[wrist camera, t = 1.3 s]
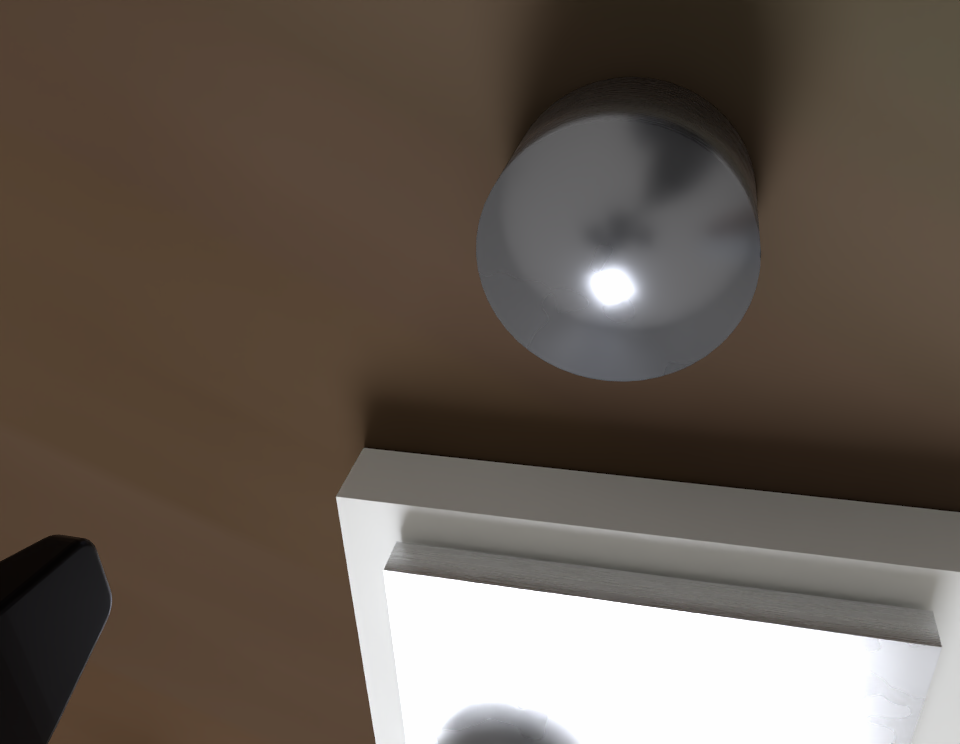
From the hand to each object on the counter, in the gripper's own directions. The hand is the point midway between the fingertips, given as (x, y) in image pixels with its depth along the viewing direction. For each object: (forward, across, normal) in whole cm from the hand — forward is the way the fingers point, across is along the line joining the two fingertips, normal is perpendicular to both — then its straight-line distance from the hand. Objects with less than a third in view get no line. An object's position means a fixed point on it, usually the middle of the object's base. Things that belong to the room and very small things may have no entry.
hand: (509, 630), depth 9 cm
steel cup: (+12, 0, 0) cm, 12 cm away
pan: (+9, -1, +14) cm, 17 cm away
